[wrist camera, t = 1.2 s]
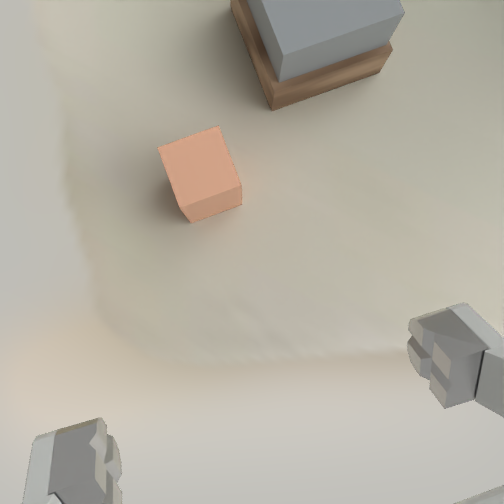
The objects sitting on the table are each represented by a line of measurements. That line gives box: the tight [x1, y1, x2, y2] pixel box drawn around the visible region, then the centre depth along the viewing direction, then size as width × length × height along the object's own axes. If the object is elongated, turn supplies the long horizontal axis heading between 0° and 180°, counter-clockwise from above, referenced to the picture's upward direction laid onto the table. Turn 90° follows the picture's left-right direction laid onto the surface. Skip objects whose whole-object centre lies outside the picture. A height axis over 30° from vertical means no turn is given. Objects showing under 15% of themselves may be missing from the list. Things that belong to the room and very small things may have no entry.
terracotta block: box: [157, 125, 242, 223], centre depth 38 cm, size 5×5×8 cm
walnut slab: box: [231, 0, 393, 111], centre depth 42 cm, size 11×11×4 cm
